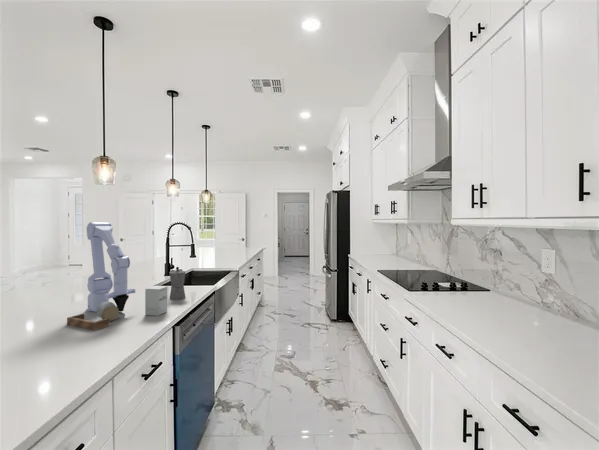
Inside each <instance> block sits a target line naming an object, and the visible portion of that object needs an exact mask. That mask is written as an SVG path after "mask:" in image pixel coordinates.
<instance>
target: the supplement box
mask: <svg viewBox="0 0 599 450" xmlns="http://www.w3.org/2000/svg"><path fill="white" fill-rule="evenodd" d="M144 290H145V291H144V295H145V296H144V297H145V299H144V302H145V305H144V306H145V308H144V309H145V310H144V314H145V315H146V316H160V315H162V314H163V315H164V313H167V312H168V286H166V285H165V286H164V285H154V286H150V287H147V288H145V289H144Z"/></svg>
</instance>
